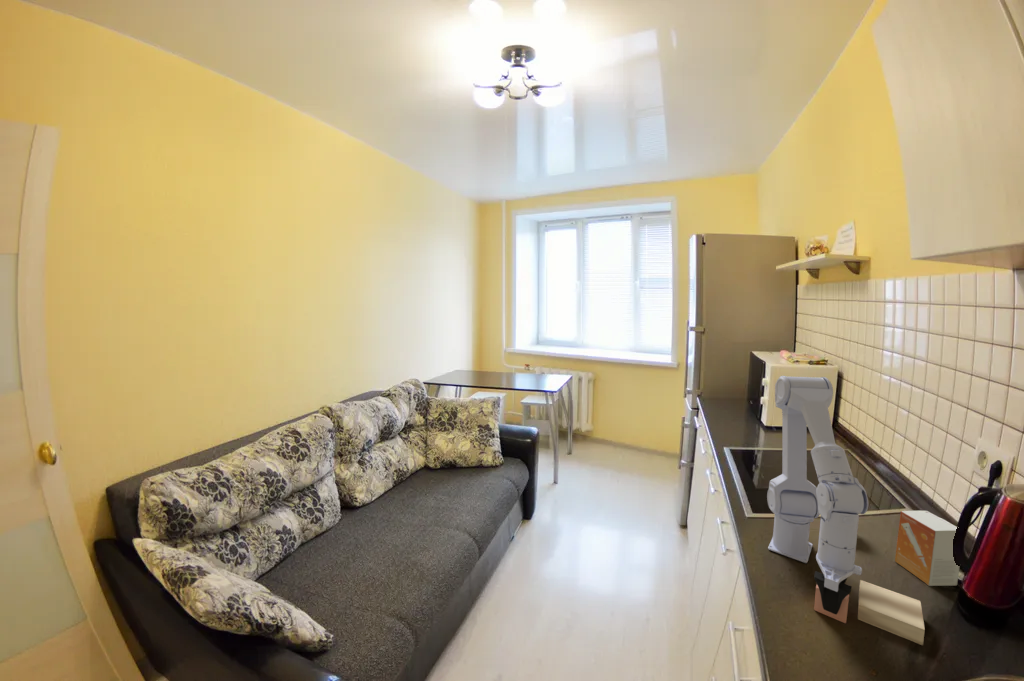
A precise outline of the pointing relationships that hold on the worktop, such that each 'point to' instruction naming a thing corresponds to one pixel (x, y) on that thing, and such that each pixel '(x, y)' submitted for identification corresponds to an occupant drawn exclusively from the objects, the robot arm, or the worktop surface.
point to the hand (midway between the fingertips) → (831, 602)
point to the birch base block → (891, 612)
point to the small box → (927, 548)
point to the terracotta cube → (839, 616)
